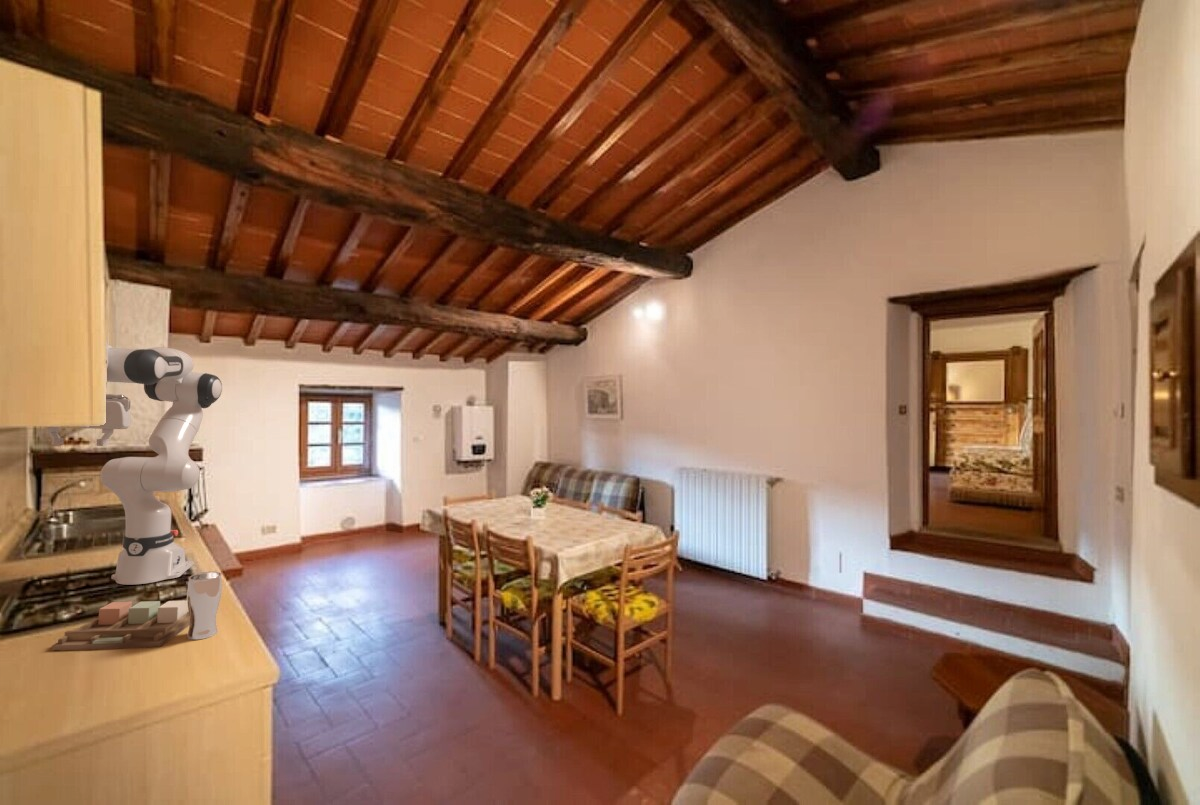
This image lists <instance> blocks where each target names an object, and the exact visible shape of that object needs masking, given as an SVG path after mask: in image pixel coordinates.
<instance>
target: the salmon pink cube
mask: <svg viewBox="0 0 1200 805" xmlns="http://www.w3.org/2000/svg"><path fill="white" fill-rule="evenodd" d="M132 606H133V601H112V602H110V603H108V604H107V605H104V606H103V607H100V608H99V610H98V617H99V621H98V625H111V624H116V623H117V622H119V621H121V620H123V619H124V618H126V617H128V615H129V608H130V607H132Z"/></svg>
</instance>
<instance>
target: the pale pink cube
mask: <svg viewBox="0 0 1200 805" xmlns="http://www.w3.org/2000/svg"><path fill="white" fill-rule="evenodd" d="M187 612H188V605H187V600H168V601H166V602H164V604H161V605H160V607H158V617H157V623H174V622H175V621H177V620H178V619H180V618H181V617H182V616H184V615H185V614H187Z"/></svg>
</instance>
